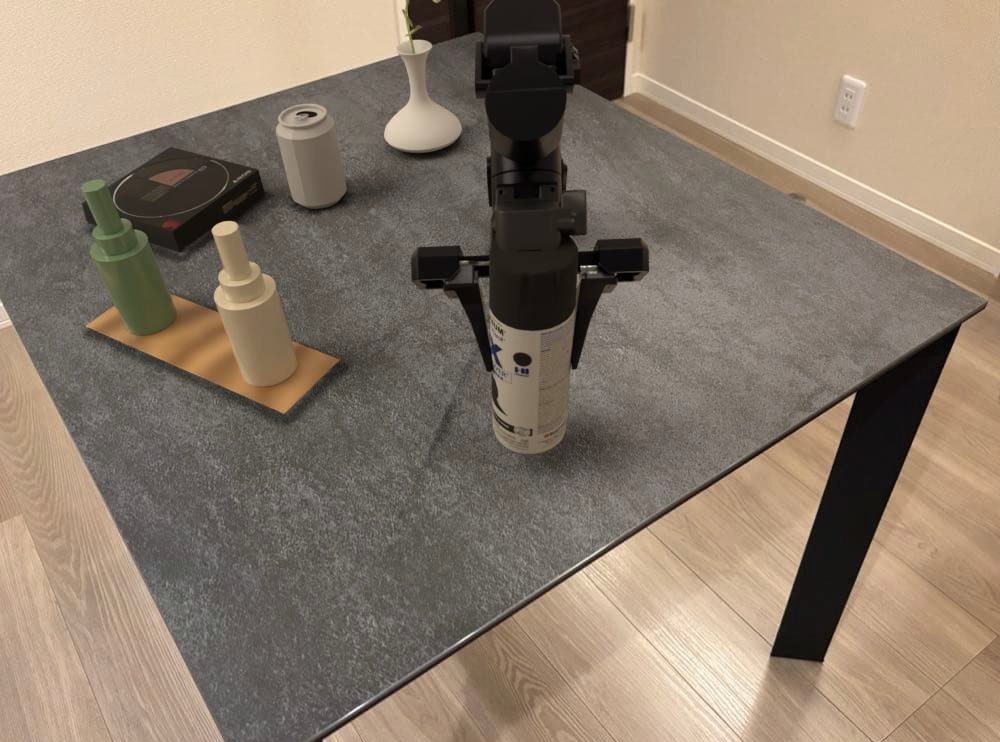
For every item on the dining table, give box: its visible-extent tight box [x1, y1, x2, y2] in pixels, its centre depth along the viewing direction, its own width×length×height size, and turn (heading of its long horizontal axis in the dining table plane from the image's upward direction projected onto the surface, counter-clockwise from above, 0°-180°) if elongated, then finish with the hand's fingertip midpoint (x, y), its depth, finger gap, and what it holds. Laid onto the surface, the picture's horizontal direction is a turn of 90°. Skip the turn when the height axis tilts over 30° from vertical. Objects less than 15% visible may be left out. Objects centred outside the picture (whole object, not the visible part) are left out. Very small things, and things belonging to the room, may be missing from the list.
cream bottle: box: [211, 220, 298, 387], centre depth 81 cm, size 6×6×17 cm
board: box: [85, 293, 341, 415], centre depth 91 cm, size 30×9×1 cm, turn 58°
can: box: [275, 103, 347, 210], centre depth 108 cm, size 8×8×12 cm
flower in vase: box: [383, 0, 463, 154], centre depth 113 cm, size 13×11×25 cm
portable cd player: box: [81, 146, 266, 253], centre depth 111 cm, size 16×17×4 cm
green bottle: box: [80, 178, 177, 336], centre depth 88 cm, size 6×6×17 cm
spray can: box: [488, 231, 579, 457], centre depth 68 cm, size 7×7×20 cm
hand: (531, 370), depth 68 cm, fingers closed on spray can, 6 cm apart
